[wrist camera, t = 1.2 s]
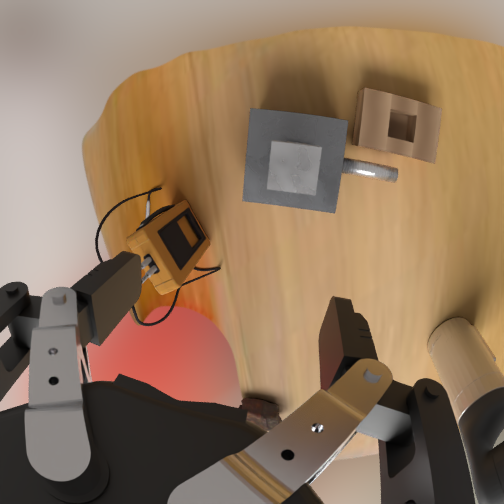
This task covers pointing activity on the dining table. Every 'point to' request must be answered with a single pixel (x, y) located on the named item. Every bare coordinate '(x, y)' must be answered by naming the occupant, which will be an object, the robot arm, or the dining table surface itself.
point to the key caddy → (396, 125)
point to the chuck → (309, 132)
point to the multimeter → (166, 247)
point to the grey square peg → (294, 167)
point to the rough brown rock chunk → (261, 413)
